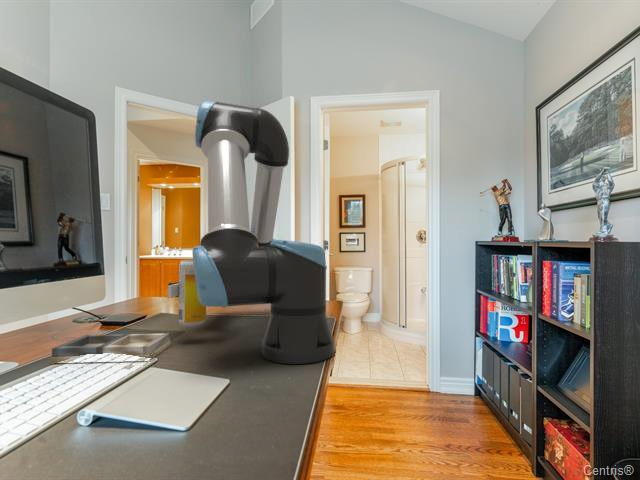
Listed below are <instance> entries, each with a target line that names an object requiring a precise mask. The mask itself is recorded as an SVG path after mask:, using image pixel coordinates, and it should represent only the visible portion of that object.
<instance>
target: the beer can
mask: <svg viewBox="0 0 640 480" xmlns="http://www.w3.org/2000/svg"><path fill="white" fill-rule="evenodd" d="M178 282H179V297H178V313H177V314H178V316H177V317H178V318H177V319H178V322H179V324H180V325H181V326H185V327H191V326H199V325H203V324H204V322H205V321H206V319H207V306H204V305H202V304H201V303H200V302H199V300H198V295H197V290H196V283H195V275H194V264H193V259H181V260H180V262H179V265H178Z"/></svg>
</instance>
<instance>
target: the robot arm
mask: <svg viewBox="0 0 640 480" xmlns="http://www.w3.org/2000/svg"><path fill="white" fill-rule="evenodd" d="M194 138H195V139H194V140H195V141H194V142H195V146H196V147H197V148H200V149H201V152H202V153H203V155H204V156H205V157H206V158H207V225H208V226H207V229H208V230H207V232H206V233H205V234H204V235H203V236H202V237H201V239H200V244H199V245H197V246H194V247H193V248H192V260H193V264H194V275H195V283H196V290H197V295H198V300H199V302H200V303H201V304H202V305H204V306H206V308H207V307H214V308H215V307H216V308H217V307H222V308H227V307H235V306H252V305H268V304H270V317H269V321H268V324H267V327H266V330H265V333H264V336H263V339H262V342H261V356H262V357H263V358H264V359H266V360H268V361H271V362H274V363H280V364H286V365H304V364H312V363H317V362H318V363H319V362H322V361H324V360H325V361H326V360H328V359H330V358H331V357H333V356H334V355H335V339H334V336H333V333H332V331H331V326H330V324H329V321H328V317H327V270H328V268H327V263H326V262H327V261H326V252H325V249H324V247H322V246H320V245H318V244H315V243H308V242H301V241H296V240H295V241H293V240H284V239H275V238H274V231H275V226H276V219H277V213H278V205H279V199H280V194H281V188H282V187H281V186H282V180H283V175H284V174H283V173H284V168H286V167H288V165H289V163H288V162H289V157H290V147H289V141H288V137H287V135H286V132H285V130H284V127H283V125H282V124H281V122H280V121H279V120H278V119H277V117H275V115H273V114H272V113H271V112H270V111H268V110H266V109H263V108H260V107H251V106H250V107H249V106H244V105H237V104H233V103H225V102H219V101H217V100H216V101H211V100H210V101H208V100H205V101H202V102H201V103H200V104H199V106H198V109H197V114H196V123H195V134H194ZM249 154H254V158H253V160H254V161H255V163H256V164H257V165H256V174H255V183H254V184H255V185H254V192H253V193H254V194H253V202H252V212H251V221H250V215H249V214H250V213H249V203H248V190H247V189H248V188H247V177H246V176H247V175H246V164H245V162H246V161H245V160H246V158H247V157H248V156H249ZM250 222H251V223H250ZM167 298H168V299H173V298H179V281H175V282H169V283H168V284H167Z"/></svg>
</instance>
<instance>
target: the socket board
mask: <svg viewBox="0 0 640 480" xmlns="http://www.w3.org/2000/svg"><path fill="white" fill-rule="evenodd" d="M170 335H171V334H170V333H169V332H167V333H123V334H120V333H119V334H118V333H116V334H114V333H113V334H111V333H110V334H86V335H83V336H80V337H78V338H75V339H73V340H70V341H68V342H65V343H63V344H60V345H57V346H56V347H55V346H54V347H52V348H51V357H49V365H56V364H55V363H58V362H61V361H65V360H68V359H70V358H73V357H76V356H80V355H86V354H103V353H114V354H126V355H133V356H139V357H145V358H152V357H154V358H155V357H157V356H158V355H159V354H160V353H162V352H163V351H165V350H166V349H167V348H169V347H170V346H171V339H170V338H171V337H170ZM152 359H153V358H152Z"/></svg>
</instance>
